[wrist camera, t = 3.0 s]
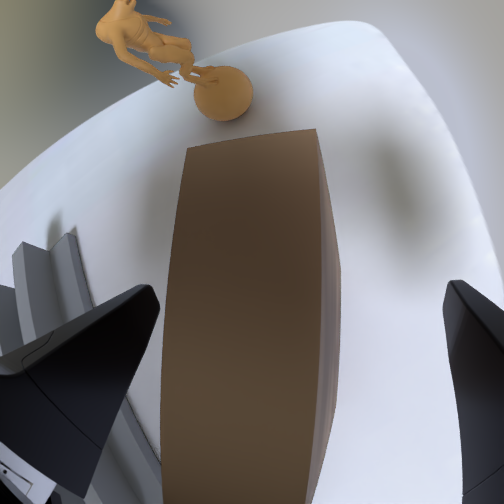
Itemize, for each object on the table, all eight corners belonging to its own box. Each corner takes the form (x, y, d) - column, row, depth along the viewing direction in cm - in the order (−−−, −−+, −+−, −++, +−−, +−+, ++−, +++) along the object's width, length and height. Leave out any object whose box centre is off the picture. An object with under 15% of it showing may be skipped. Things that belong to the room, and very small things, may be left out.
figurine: (276, 140, 18) (193, -25, 7) (191, 176, 19) (66, 53, 8) (245, 70, 21) (181, -49, 10) (179, 101, 22) (96, -1, 11)
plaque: (336, 405, 13) (298, 540, 3) (287, 403, 14) (163, 507, 4) (340, 267, 15) (315, 128, 5) (292, 269, 16) (187, 148, 6)
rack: (186, 505, 13) (151, 531, 10) (79, 514, 15) (48, 525, 11) (75, 236, 22) (39, 220, 18) (7, 312, 23) (-22, 306, 20)
